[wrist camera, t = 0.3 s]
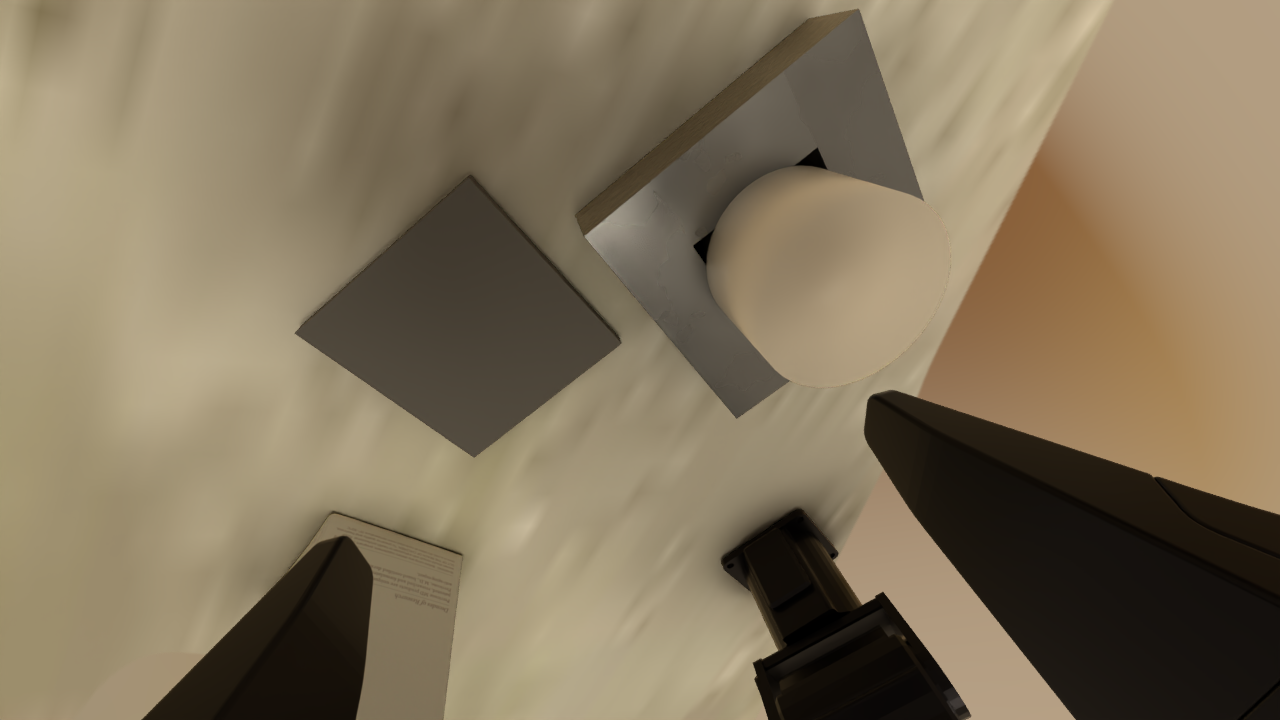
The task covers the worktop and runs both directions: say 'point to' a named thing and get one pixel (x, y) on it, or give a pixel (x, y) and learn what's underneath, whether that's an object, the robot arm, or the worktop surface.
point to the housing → (745, 185)
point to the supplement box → (403, 621)
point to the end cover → (827, 272)
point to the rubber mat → (462, 323)
